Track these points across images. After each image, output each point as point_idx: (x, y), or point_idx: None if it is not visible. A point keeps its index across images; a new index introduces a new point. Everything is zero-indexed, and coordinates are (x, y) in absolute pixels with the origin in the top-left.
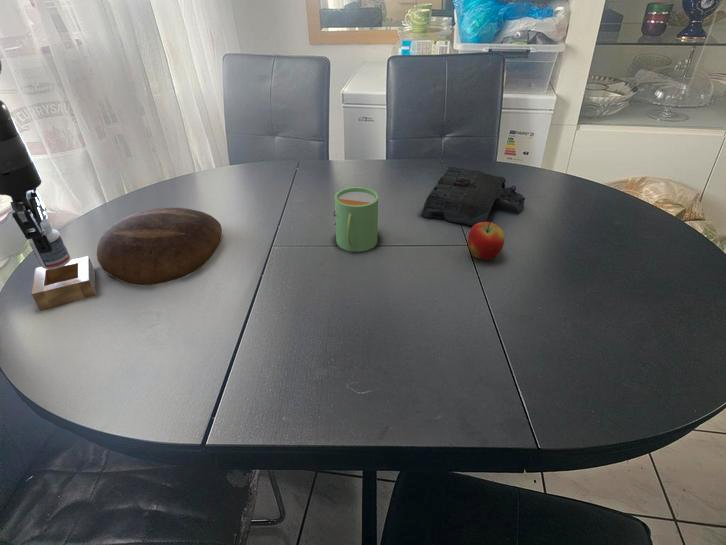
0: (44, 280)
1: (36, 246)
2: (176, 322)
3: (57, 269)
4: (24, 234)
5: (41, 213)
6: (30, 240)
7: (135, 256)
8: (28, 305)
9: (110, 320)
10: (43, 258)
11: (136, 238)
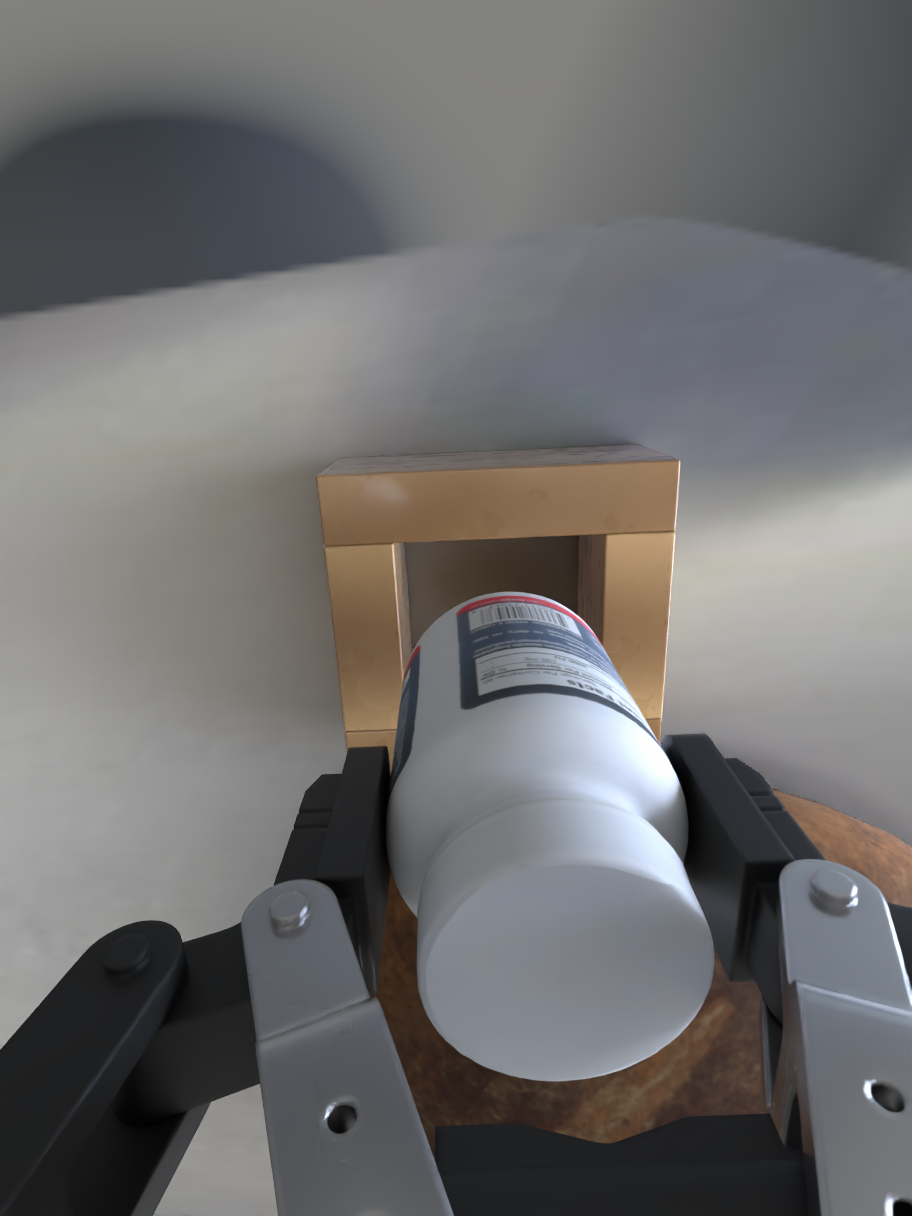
0: (468, 539)
1: (338, 797)
2: (38, 1003)
3: (601, 596)
4: (26, 1029)
5: (767, 1103)
6: (461, 757)
7: (423, 1044)
8: (417, 383)
9: (125, 786)
10: (408, 696)
11: (542, 1124)
